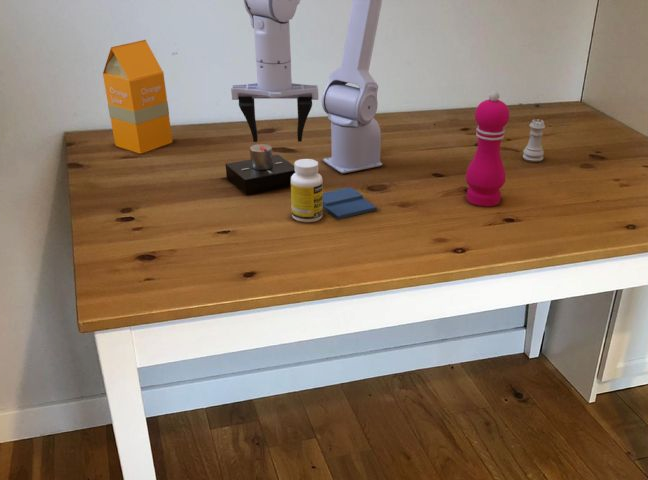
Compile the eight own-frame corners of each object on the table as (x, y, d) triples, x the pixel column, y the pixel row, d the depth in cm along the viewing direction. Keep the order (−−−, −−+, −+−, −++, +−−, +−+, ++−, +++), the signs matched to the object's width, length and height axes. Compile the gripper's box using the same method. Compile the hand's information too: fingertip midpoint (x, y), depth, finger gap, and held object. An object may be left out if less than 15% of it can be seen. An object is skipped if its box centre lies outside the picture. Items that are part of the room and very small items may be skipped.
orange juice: (173, 142, 161) (160, 42, 150) (140, 154, 155) (124, 50, 144) (147, 134, 164) (132, 36, 153) (114, 145, 158) (96, 44, 147)
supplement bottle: (318, 225, 131) (316, 170, 125) (287, 221, 132) (285, 166, 126) (326, 212, 135) (326, 158, 130) (297, 208, 136) (295, 155, 131)
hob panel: (278, 168, 151) (278, 153, 150) (300, 184, 145) (299, 168, 143) (226, 178, 146) (225, 162, 144) (246, 195, 140) (244, 179, 138)
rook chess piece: (519, 160, 161) (524, 122, 156) (525, 153, 164) (530, 116, 160) (540, 164, 159) (546, 126, 155) (545, 157, 163) (551, 120, 158)
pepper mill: (506, 196, 145) (519, 88, 133) (497, 210, 139) (510, 99, 128) (469, 189, 146) (479, 83, 135) (459, 203, 141) (469, 93, 129)
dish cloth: (351, 192, 143) (351, 186, 142) (376, 210, 137) (376, 203, 136) (313, 201, 139) (312, 194, 138) (337, 219, 133) (337, 212, 132)
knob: (247, 164, 144) (246, 144, 142) (267, 161, 146) (266, 141, 144) (256, 171, 142) (255, 151, 139) (276, 168, 144) (275, 147, 141)
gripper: (227, 65, 123) (234, 148, 130) (318, 66, 125) (320, 147, 132) (229, 54, 129) (236, 134, 136) (316, 55, 131) (318, 133, 138)
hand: (277, 140), depth 135 cm, fingers open, 7 cm apart
